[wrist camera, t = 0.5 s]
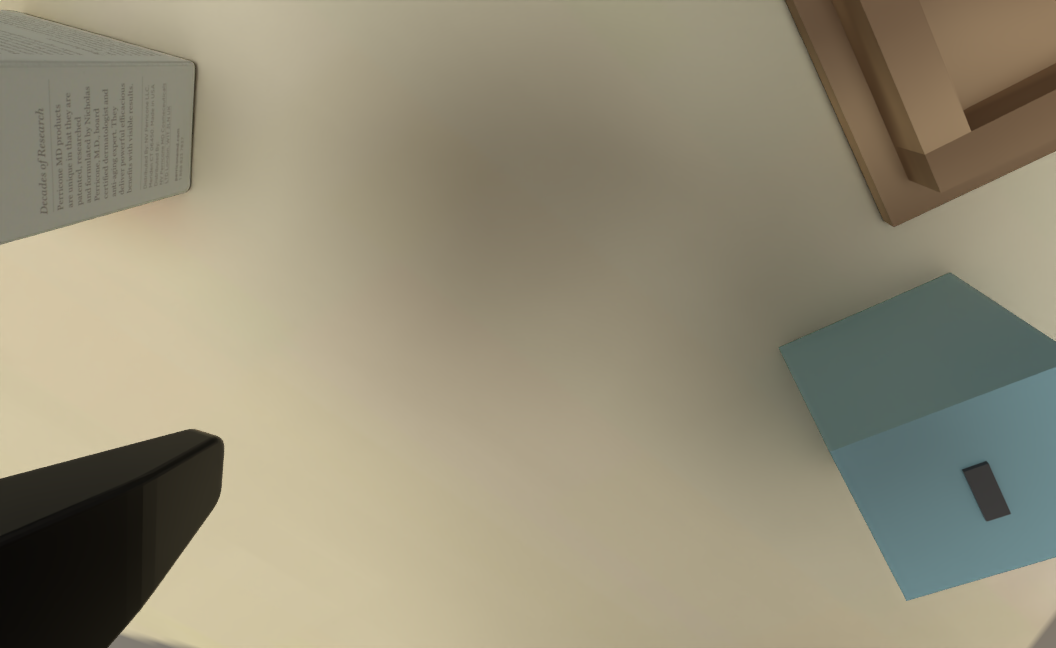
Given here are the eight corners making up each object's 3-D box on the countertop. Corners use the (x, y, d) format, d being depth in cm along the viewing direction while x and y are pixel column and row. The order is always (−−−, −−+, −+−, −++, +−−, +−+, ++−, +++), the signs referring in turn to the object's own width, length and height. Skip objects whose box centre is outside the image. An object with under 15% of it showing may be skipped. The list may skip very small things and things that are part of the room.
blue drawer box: (1004, 400, 20) (1150, 533, 14) (837, 461, 21) (907, 604, 15) (949, 272, 18) (1083, 360, 13) (778, 346, 20) (830, 454, 14)
